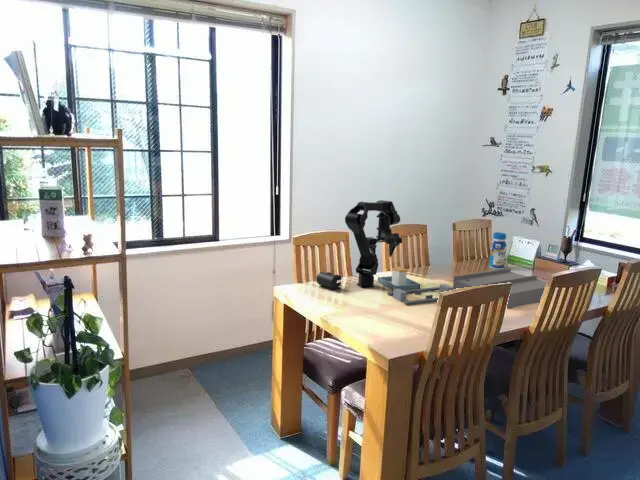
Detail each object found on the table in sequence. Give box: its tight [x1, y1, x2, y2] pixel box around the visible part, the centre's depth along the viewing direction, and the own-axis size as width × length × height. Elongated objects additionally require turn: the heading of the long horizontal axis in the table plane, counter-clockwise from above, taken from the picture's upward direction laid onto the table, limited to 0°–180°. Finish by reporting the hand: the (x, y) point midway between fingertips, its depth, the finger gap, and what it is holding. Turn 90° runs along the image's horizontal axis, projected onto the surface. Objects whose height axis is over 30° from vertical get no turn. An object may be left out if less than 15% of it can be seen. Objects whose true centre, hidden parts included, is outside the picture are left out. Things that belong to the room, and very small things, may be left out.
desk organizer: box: [452, 267, 548, 310], centre depth 236 cm, size 32×40×7 cm
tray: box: [377, 275, 421, 291], centre depth 242 cm, size 14×17×2 cm
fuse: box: [391, 266, 408, 286], centre depth 241 cm, size 4×6×8 cm, turn 24°
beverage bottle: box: [488, 232, 507, 270], centre depth 284 cm, size 8×8×20 cm
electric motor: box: [316, 271, 342, 291], centre depth 234 cm, size 10×7×7 cm
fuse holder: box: [386, 283, 454, 306], centre depth 225 cm, size 28×16×4 cm, turn 114°
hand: (382, 257), depth 247 cm, fingers open, 9 cm apart
